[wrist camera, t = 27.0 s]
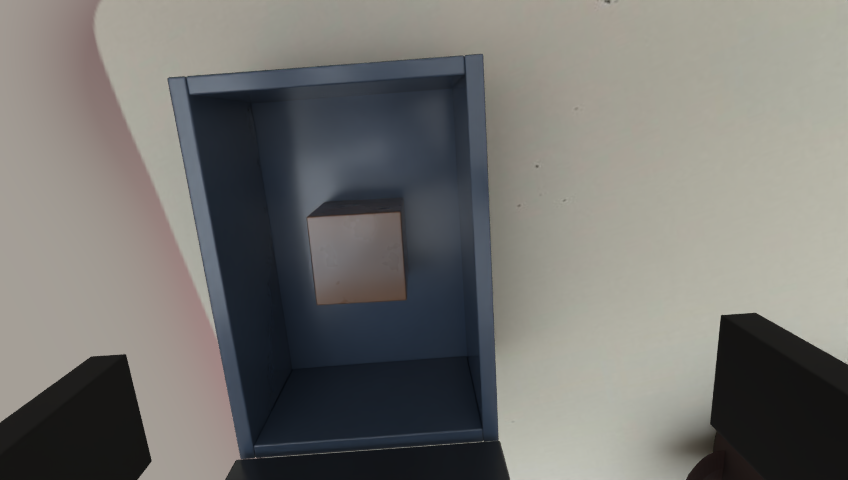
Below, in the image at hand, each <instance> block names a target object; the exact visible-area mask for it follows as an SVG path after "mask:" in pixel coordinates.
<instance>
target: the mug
mask: <svg viewBox="0 0 848 480" xmlns="http://www.w3.org/2000/svg"><path fill="white" fill-rule="evenodd" d="M686 480H764V479H763V478H762V477H761V476H760V475H759V474H758V473H757V472H756V471H755V470H754V469H753V468H752V467H751V466H750V465H749V464H748V463H747V461H746V460H745V459H744V458H743V457H742V456H741V455H740V454H739V453H738V452H737V451H736V450H735V449H734V448H733V447H732V446H731V445H730V444H729V443H728V442H727V441H726V440H725V439H724V438H723V437H722V436H721V435H720V434H719V433H718V432H717V433H716V436H715V441H714V447H713V453H711V454H709V455H707V456H706V457H704V458H703V459H702V460H701V461H700V462H699V463H698V464H697V465H696V466H695V467H694V468H693V469H692V471H691V472H690V473H689V475H688V477H687V479H686Z"/></svg>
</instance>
